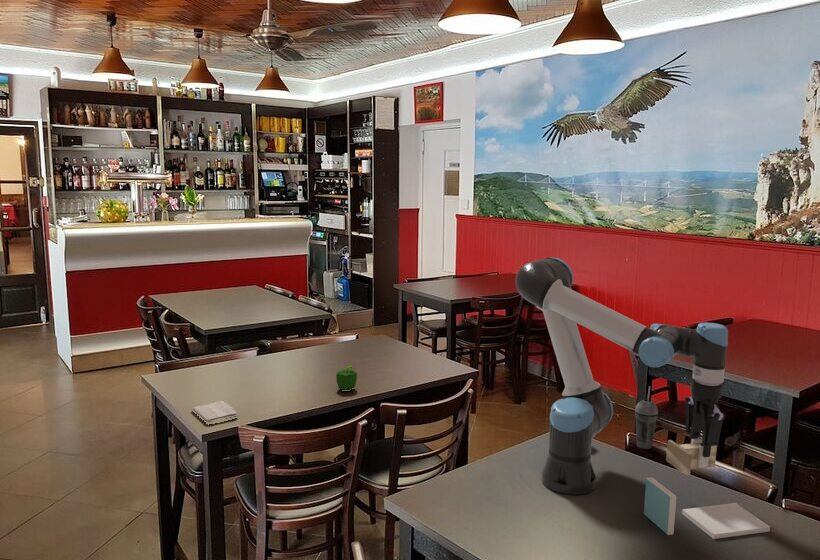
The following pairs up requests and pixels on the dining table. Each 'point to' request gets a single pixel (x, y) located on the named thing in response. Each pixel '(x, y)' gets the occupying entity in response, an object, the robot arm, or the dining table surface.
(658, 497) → the tile
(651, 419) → the beverage cup
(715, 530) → the board
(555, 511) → the dining table surface
